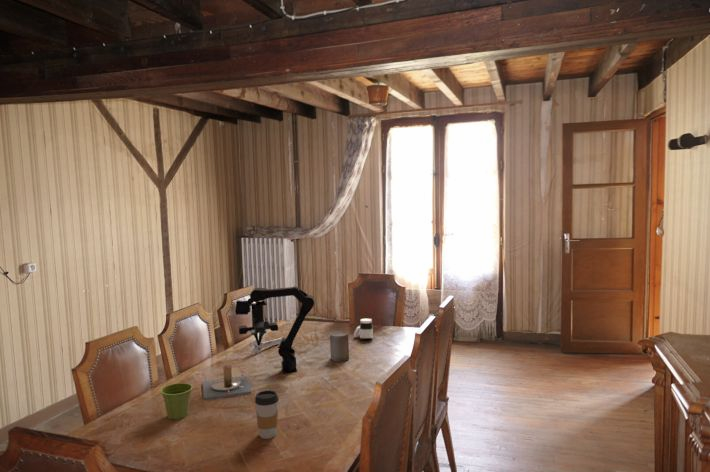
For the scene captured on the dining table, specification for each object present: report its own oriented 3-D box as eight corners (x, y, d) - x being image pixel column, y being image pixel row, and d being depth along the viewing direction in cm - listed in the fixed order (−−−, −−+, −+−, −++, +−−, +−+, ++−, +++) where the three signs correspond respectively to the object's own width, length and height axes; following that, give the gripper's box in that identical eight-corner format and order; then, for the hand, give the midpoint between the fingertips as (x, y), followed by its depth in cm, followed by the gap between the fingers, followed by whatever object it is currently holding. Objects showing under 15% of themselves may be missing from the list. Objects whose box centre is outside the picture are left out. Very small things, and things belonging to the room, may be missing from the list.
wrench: (284, 347, 287) (251, 356, 261) (281, 346, 288) (248, 356, 262) (284, 333, 287) (251, 341, 261) (282, 333, 288) (249, 340, 262)
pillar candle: (350, 356, 260) (349, 328, 259) (347, 362, 250) (347, 333, 249) (332, 356, 261) (331, 328, 260) (329, 362, 251) (328, 333, 250)
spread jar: (373, 341, 285) (372, 321, 285) (353, 341, 286) (353, 322, 285) (372, 335, 297) (372, 316, 296) (354, 335, 298) (353, 317, 297)
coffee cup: (257, 429, 179) (256, 390, 178) (280, 428, 180) (279, 389, 178) (254, 441, 171) (253, 399, 169) (278, 439, 171) (277, 398, 170)
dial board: (246, 377, 231) (246, 374, 231) (251, 393, 213) (251, 389, 212) (202, 383, 225) (202, 380, 225) (203, 400, 206) (203, 396, 206)
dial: (209, 383, 222) (208, 361, 221) (238, 378, 227) (237, 356, 226) (213, 393, 210) (212, 370, 209) (243, 387, 215) (242, 365, 215)
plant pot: (175, 425, 184) (173, 396, 183) (155, 418, 190) (153, 390, 189) (200, 413, 194) (199, 386, 193) (180, 407, 200) (179, 380, 199)
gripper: (239, 319, 226) (240, 352, 228) (279, 316, 232) (280, 348, 234) (237, 314, 237) (238, 345, 238) (275, 311, 243) (276, 341, 244)
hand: (258, 345), depth 238 cm, fingers closed
